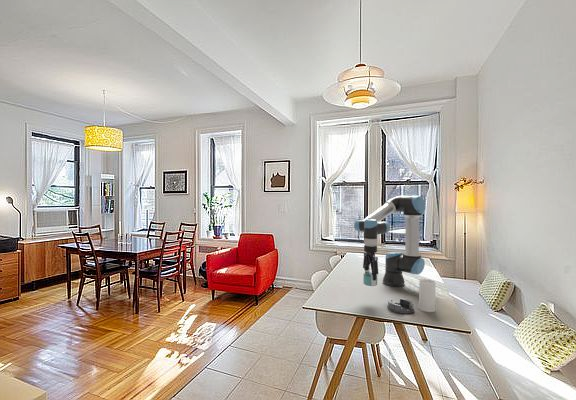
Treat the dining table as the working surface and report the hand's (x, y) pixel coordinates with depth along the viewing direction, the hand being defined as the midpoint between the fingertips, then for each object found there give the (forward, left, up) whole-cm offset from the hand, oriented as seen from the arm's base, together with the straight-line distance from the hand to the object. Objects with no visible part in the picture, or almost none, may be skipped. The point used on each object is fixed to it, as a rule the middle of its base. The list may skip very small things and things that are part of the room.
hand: (370, 283), depth 172 cm
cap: (0, 0, 0) cm, 0 cm away
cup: (-28, +14, -12) cm, 33 cm away
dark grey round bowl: (-13, +12, -12) cm, 21 cm away
